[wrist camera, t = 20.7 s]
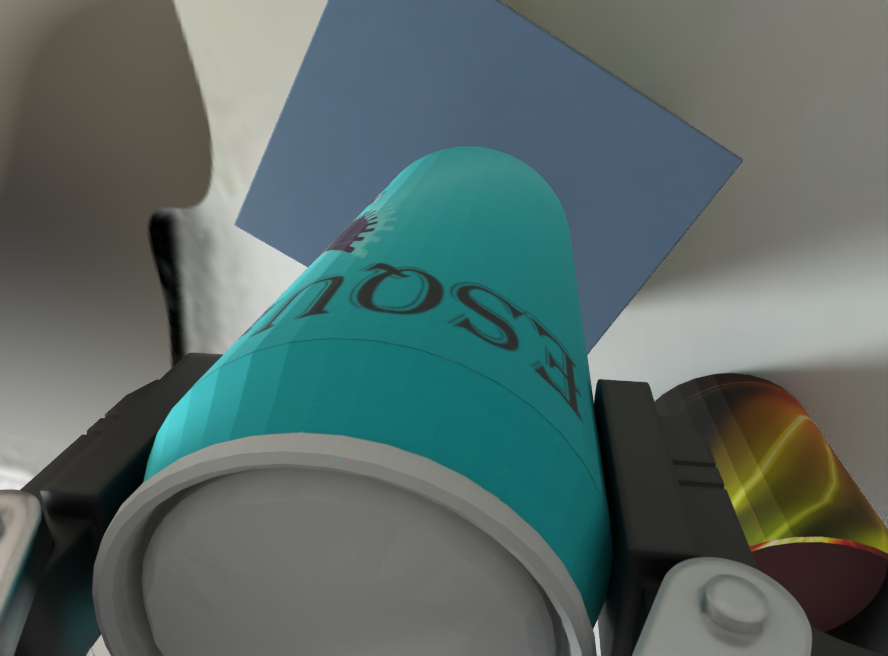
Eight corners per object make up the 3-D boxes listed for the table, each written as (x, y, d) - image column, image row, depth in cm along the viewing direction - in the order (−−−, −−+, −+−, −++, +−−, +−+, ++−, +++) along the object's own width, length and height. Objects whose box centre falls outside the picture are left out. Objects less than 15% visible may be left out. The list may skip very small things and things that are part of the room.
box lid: (241, 219, 25) (233, 225, 24) (370, -84, 20) (364, -88, 19) (546, 395, 27) (547, 405, 26) (737, 155, 22) (744, 160, 21)
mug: (782, 571, 39) (875, 780, 28) (596, 462, 37) (620, 639, 26) (912, 469, 35) (1080, 669, 24) (709, 341, 33) (792, 494, 22)
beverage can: (421, 104, 18) (95, 313, 5) (601, 183, 19) (760, 588, 5) (361, 273, 21) (37, 717, 7) (520, 340, 21) (484, 885, 8)
